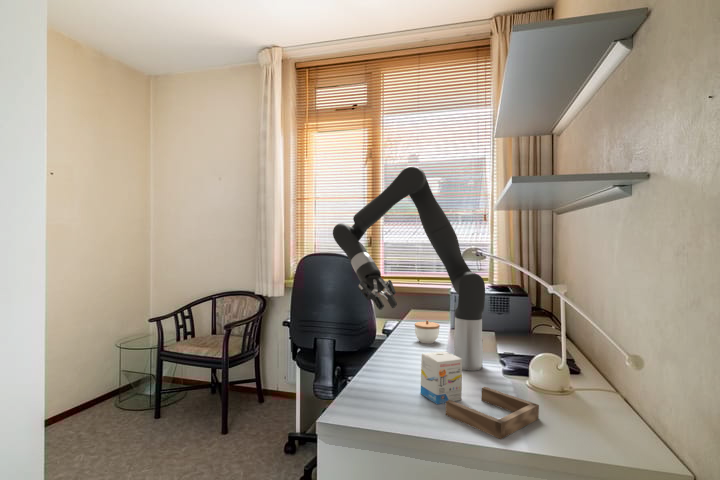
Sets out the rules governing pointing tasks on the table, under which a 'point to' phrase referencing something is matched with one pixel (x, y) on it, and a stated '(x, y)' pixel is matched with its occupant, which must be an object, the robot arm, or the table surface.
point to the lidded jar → (427, 331)
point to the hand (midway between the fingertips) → (388, 307)
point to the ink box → (441, 377)
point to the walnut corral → (496, 427)
